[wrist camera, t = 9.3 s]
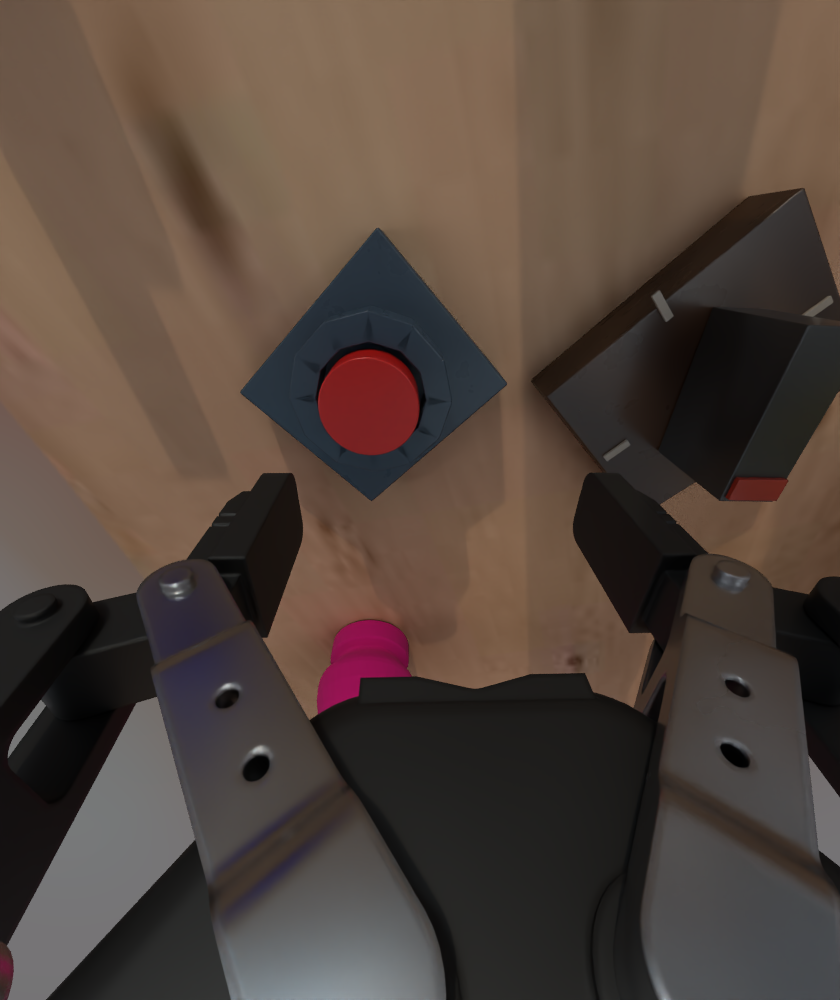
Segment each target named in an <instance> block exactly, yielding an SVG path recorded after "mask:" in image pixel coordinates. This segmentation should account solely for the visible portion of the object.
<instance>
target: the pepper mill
mask: <svg viewBox="0 0 840 1000" xmlns="http://www.w3.org/2000/svg"><path fill="white" fill-rule="evenodd" d="M408 663H409V645H408V640H407V638H406V636H405V635H404V634H403V632H402V631H401V630H400V629H398V628H396V627H395V626H393V625H391V624H389V623H386V622H382V621H376V620H364V621H358V622H355V623H351V624H349V625H347V626H346V627H344V628H343V629H341V630H340V631H339V632H338V634H337V635H336V637H335V639H334V643H333V648H332V654H331V665H330V666H329V667H328V668H327V669H326V671H325V672H324V673H323V675H322V677H321V679H320V682H319V686H318V695H317V708H318V714H319V713H321V712H322V711H324V710H326V709H328V708H329V707H331V706H333V705H335V704H337V703H340V702H342V701H345V700H347V699H350V698H353V697H357V696H359V687H360V678H366V677H412V676H411V674H410V672H409V671H408V670H407V667H408Z"/></svg>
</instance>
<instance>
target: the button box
mask: <svg viewBox="0 0 840 1000" xmlns="http://www.w3.org/2000/svg"><path fill="white" fill-rule="evenodd" d="M361 349H378V350H382V351H385V352H388V353H390V354H392V355H394V356H396V357H397V358H398V359H400V360H401V361H402V362H403V363H404V364H405V365H406V366H407V367H408V368H409V370H410V371H411V373H412V374H413V376H414V378H415V381H416V384H417V387H418V393H419V408H420V411H419V419H418V423H417V425H416V428H415V430H414V432H413V433H412V435H411V436H410V438H409V439H408V440H407V441H406V442H405V443H404V444H403V445H401V446H400V447H398V448H397V449H395V450H393V451H391V452H388V453H385V454H380V455H363V454H358V453H355V452H352V451H350V450H348V449H346V448H344V447H342V446H341V445H339V444H338V443H337V442H336V441H335V440H334V439H333V438H332V437H331V436H330V435H329V434H328V432H327V431H326V429H325V428H324V426H323V424H322V422H321V419H320V415H319V410H318V396H319V391H320V388H321V386H322V383H323V381H324V380H325V378H326V376H327V375H328V373H329V372H330V370H331V368H332V367H333V366H334V365H335V363H336V362H337V361H338V360H339V359H341V358H342V357H343V356H345V355H347V354H349V353H351V352H353V351H356V350H361ZM506 385H507V383H506V381H505V380H504V379H503V377H502V376H501V375H500V373H499V372H498V371H497V370H496V368H495V367H494V366H493V365H492V363H491V362H490V361H489V360H488V359H487V357H486V356H485V355H484V354H483V353H482V351H481V350H480V349H479V348H478V346H477V345H476V344H475V343H474V342H473V340H472V339H471V338H470V337H469V336H468V334H467V333H466V332H465V331H464V330H463V328H462V327H461V326H460V325H459V323H458V322H457V321H456V320H455V319H454V317H453V316H452V315H451V314H450V313H449V311H448V310H447V309H446V308H445V306H444V305H443V304H442V303H441V302H440V300H439V299H438V298H437V297H436V296H435V294H434V293H433V292H432V291H431V289H430V288H429V287H428V286H427V285H426V283H425V282H424V281H423V280H422V279H421V277H420V276H419V275H418V274H417V272H416V271H415V270H414V269H413V268H412V266H411V265H410V264H409V263H408V262H407V260H406V259H405V258H404V257H403V256H402V254H401V253H400V252H399V251H398V249H397V248H396V247H395V246H394V245H393V243H392V242H391V241H390V240H389V239H388V237H387V236H386V235H385V234H384V232H383V231H382V230H381V229H379V228H376V229H375V231H374V232H373V233H372V234H371V235H370V237H369V238H368V239H367V240H366V241H365V243H364V244H363V245H362V246H361V247H360V249H359V250H358V251H357V252H356V253H355V255H354V256H353V257H352V258H351V259H350V261H349V262H348V263H347V264H346V265H345V267H344V268H343V269H342V270H341V271H340V273H339V274H338V275H337V276H336V277H335V279H334V280H333V281H332V282H331V283H330V285H329V286H328V287H327V288H326V289H325V291H324V292H323V293H322V294H321V295H320V297H319V298H318V299H317V300H316V301H315V303H314V304H313V305H312V306H311V307H310V309H309V310H308V311H307V312H306V313H305V315H304V316H303V317H302V318H301V319H300V321H299V322H298V323H297V324H296V325H295V327H294V328H293V329H292V330H291V331H290V333H289V334H288V335H287V336H286V337H285V339H284V340H283V341H282V342H281V343H280V345H279V346H278V347H277V348H276V349H275V351H274V352H273V353H272V354H271V355H270V356H269V358H268V359H267V360H266V361H265V362H264V364H263V365H262V366H261V367H260V368H259V370H258V371H257V372H256V373H255V374H254V376H253V377H252V378H251V379H250V380H249V382H248V383H247V384H246V385H245V386H244V388H243V389H242V390H241V392H240V393H241V394H242V395H243V396H245V397H246V398H247V399H248V400H250V401H251V402H252V403H253V404H254V405H256V406H257V407H258V408H259V409H260V410H262V411H263V412H264V413H265V414H266V415H268V416H269V417H270V418H271V419H273V420H274V421H275V422H276V423H277V424H279V425H280V426H281V427H282V428H283V429H285V430H286V431H287V432H288V433H289V434H291V435H292V436H293V437H294V438H296V439H297V440H298V441H299V442H300V443H302V444H303V445H304V446H305V447H306V448H308V449H309V450H310V451H311V452H312V453H314V454H315V455H316V456H317V457H319V458H320V459H321V460H322V461H323V462H325V463H326V464H327V465H328V466H329V467H331V468H332V469H333V470H334V471H335V472H337V473H338V474H339V475H340V476H342V477H343V478H344V479H345V480H346V481H348V482H349V483H350V484H351V485H352V486H354V487H355V488H356V489H357V490H358V491H360V492H361V493H362V494H363V495H365V496H366V497H367V498H368V499H369V500H371V501H372V500H374V499H375V498H376V497H377V496H378V495H379V494H381V493H382V492H383V491H384V490H385V489H386V488H388V487H389V486H390V485H391V484H392V483H393V482H395V481H396V480H397V479H398V478H399V477H400V476H402V475H403V474H404V473H405V472H406V471H407V470H409V469H410V468H411V467H412V466H413V465H414V464H415V463H417V462H418V461H419V460H420V459H421V458H422V457H424V456H425V455H426V454H427V453H428V452H429V451H431V450H432V449H433V448H434V447H435V446H436V445H438V444H439V443H440V442H441V441H442V440H443V439H444V438H446V437H447V436H448V435H449V434H450V433H451V432H453V431H454V430H455V429H456V428H457V427H458V426H460V425H461V424H462V423H463V422H464V421H465V420H467V419H468V418H469V417H470V416H471V415H472V414H474V413H475V412H476V411H477V410H478V409H479V408H480V407H482V406H483V405H484V404H485V403H486V402H487V401H489V400H490V399H491V398H492V397H493V396H494V395H496V394H497V393H498V392H499V391H500V390H501V389H503V388H504V387H505V386H506Z"/></svg>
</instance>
